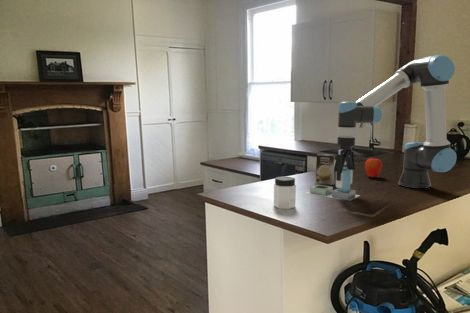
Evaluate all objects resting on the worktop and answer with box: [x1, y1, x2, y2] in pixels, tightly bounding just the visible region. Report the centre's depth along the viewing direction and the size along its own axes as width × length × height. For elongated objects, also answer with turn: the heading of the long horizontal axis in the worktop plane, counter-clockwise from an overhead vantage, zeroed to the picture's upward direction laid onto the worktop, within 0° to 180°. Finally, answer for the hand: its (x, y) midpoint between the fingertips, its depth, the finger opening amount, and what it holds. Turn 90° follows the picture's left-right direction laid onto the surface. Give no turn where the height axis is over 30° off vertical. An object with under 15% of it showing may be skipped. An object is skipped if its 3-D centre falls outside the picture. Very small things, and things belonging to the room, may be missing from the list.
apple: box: [364, 157, 383, 178], centre depth 221 cm, size 9×9×12 cm
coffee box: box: [314, 153, 336, 186], centre depth 201 cm, size 9×6×16 cm
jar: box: [273, 176, 297, 210], centre depth 159 cm, size 9×8×12 cm
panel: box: [305, 184, 361, 201], centre depth 177 cm, size 22×12×4 cm, turn 51°
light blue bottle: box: [337, 166, 351, 193], centre depth 173 cm, size 4×4×13 cm
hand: (344, 185), depth 173 cm, fingers open, 10 cm apart
